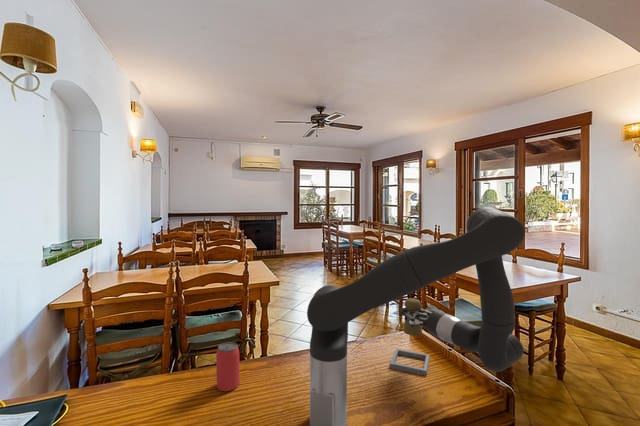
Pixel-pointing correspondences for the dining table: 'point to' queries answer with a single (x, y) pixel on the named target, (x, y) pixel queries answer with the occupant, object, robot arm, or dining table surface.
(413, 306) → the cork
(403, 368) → the gray square frame
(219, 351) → the beer can
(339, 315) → the robot arm
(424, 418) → the dining table surface
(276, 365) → the dining table surface
